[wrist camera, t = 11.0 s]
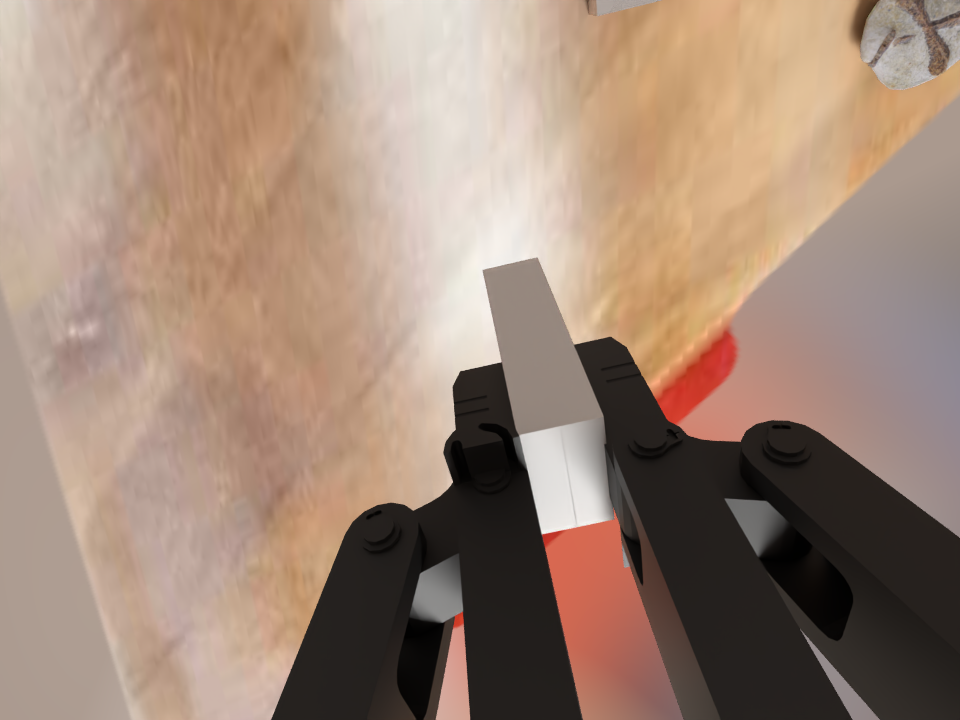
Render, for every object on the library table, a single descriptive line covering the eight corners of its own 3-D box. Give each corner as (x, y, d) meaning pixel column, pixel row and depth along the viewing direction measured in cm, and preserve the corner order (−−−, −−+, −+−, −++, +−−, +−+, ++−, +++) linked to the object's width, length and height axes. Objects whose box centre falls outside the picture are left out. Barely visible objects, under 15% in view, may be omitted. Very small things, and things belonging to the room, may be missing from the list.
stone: (886, 108, 40) (913, 116, 37) (831, 36, 37) (858, 40, 34) (1021, -22, 36) (1060, -22, 34) (972, -114, 33) (1012, -121, 31)
